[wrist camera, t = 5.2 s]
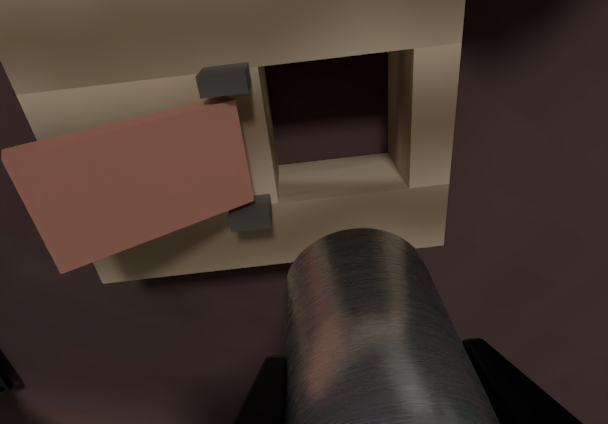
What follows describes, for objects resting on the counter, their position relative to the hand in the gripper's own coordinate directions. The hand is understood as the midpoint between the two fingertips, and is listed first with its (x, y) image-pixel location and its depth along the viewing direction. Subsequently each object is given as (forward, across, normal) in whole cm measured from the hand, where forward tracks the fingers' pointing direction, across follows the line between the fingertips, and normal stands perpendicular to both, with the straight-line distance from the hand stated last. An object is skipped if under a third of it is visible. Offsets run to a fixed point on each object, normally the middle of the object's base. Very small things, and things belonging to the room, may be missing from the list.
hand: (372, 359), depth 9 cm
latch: (+8, +4, -2) cm, 9 cm away
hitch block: (+13, +3, -2) cm, 13 cm away
